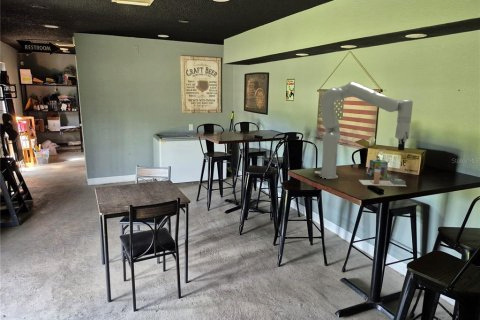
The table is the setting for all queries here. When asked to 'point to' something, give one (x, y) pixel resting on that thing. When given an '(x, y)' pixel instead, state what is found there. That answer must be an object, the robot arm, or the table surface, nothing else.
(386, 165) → the chalk box
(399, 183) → the colouring board
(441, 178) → the table surface
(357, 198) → the table surface
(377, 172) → the rust marker
